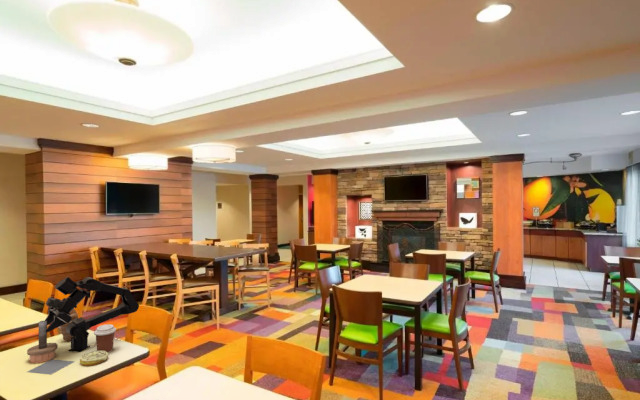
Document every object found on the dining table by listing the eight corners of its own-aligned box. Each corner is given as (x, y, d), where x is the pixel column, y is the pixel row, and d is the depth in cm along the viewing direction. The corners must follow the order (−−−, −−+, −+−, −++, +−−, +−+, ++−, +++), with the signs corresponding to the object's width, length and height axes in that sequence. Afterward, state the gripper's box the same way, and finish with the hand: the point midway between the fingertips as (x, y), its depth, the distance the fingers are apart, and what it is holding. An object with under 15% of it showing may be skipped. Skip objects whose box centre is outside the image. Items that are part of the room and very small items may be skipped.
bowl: (59, 355, 166) (59, 347, 166) (41, 364, 157) (41, 355, 157) (43, 353, 167) (43, 345, 167) (24, 362, 158) (24, 353, 158)
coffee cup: (109, 355, 166) (110, 330, 166) (89, 356, 166) (89, 330, 166) (119, 347, 176) (119, 323, 175) (100, 347, 175) (100, 323, 175)
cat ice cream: (81, 339, 185) (82, 304, 185) (66, 344, 178) (66, 309, 178) (70, 336, 188) (70, 302, 188) (54, 342, 181) (55, 307, 181)
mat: (75, 362, 160) (75, 361, 160) (50, 375, 148) (50, 374, 148) (51, 359, 161) (51, 359, 161) (26, 372, 150) (26, 372, 150)
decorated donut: (111, 361, 161) (111, 353, 161) (83, 370, 153) (83, 361, 153) (103, 354, 168) (103, 346, 168) (77, 362, 160) (77, 353, 160)
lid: (57, 351, 161) (57, 322, 161) (26, 357, 155) (26, 327, 154) (57, 343, 170) (57, 316, 170) (27, 349, 163) (28, 320, 163)
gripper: (54, 287, 173) (25, 315, 165) (63, 294, 160) (32, 325, 152) (73, 299, 179) (46, 327, 171) (83, 308, 166) (54, 338, 158)
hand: (44, 329), depth 163 cm, fingers open, 9 cm apart
